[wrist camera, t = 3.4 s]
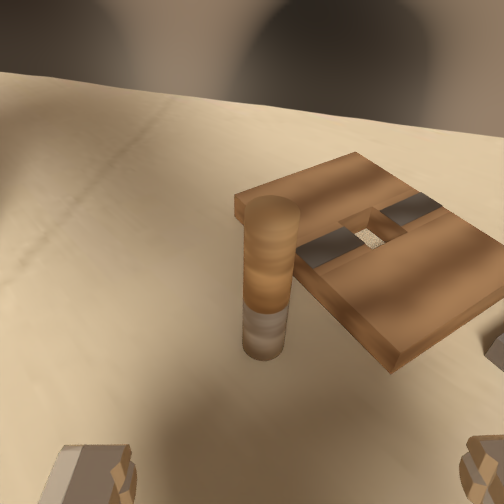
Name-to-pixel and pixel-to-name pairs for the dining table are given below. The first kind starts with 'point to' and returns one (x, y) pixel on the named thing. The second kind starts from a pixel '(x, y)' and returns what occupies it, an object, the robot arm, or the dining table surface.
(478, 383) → the dining table surface
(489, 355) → the stud finder
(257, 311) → the tall two-tone tube
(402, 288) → the board
